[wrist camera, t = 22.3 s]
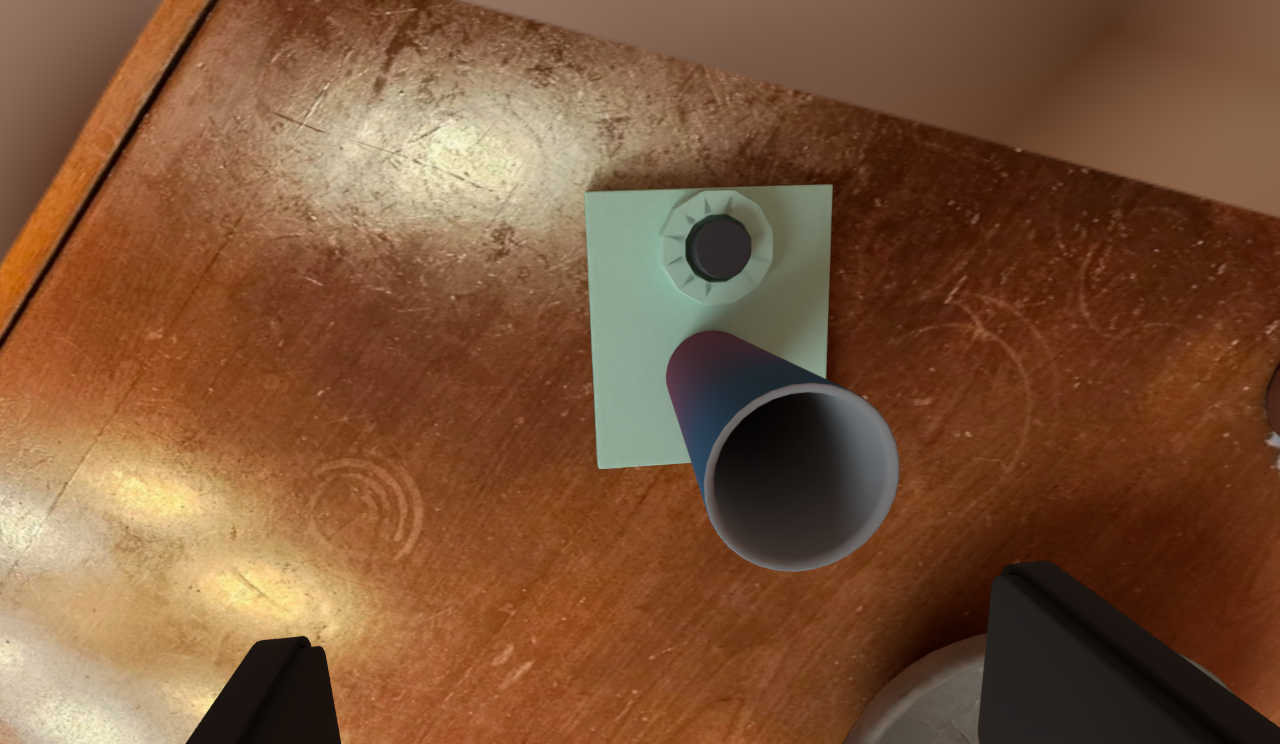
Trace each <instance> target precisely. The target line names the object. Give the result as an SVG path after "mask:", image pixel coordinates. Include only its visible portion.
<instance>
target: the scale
mask: <svg viewBox="0 0 1280 744" xmlns="http://www.w3.org/2000/svg"><path fill="white" fill-rule="evenodd" d="M832 191H833V186H832V184H821V185H786V186H752V187H717V188H682V189H648V190H613V191H586V192H585V193H584V198H585V218H586V239H587V260H588V281H589V302H590V322H591V343H592V364H593V385H594V406H595V426H596V447H597V463H598V468H599V469H605V468H620V467H634V466H649V465H663V464H678V463H691V460H690V457H689V454H688V451H687V447H686V444H685V441H684V438H683V435H682V432H681V429H680V426H679V423H678V420H677V417H676V413H675V410H674V407H673V404H672V401H671V398H670V395H669V392H668V388H667V385H666V371H667V365H668V363H669V360H670V357H671V356H672V354H673V352H674V350H675V349H676V348H677V347H678V346H679V345H680V344H681V343H682V342H683V341H684V340H686V339H687V338H689V337H690V336H692V335H694V334H697V333H700V332H703V331H712V330H714V331H723V332H726V333H729V334H732V335H734V336H736V337H738V338H740V339H742V340H744V341H747V342H749V343H751V344H753V345H755V346H757V347H759V348H761V349H764V350H766V351H768V352H770V353H772V354H774V355H776V356H778V357H780V358H783V359H785V360H787V361H789V362H791V363H793V364H795V365H797V366H800V367H802V368H804V369H806V370H808V371H810V372H812V373H814V374H816V375H819V376H821V377H823V378H825V379H826V365H827V336H828V307H829V278H830V249H831V220H832ZM712 220H728V221H732V222H735V223H737V224H739V225H740V226H741V227H742V228H744V230H745V231H746V232H747V234H748V236H749V238H750V241H751V256H750V259H749V261H748V263H747V265H746V266H745V268H744V269H743V270H742V271H741V272H740V273H738V274H737V275H735V276H733V277H730V278H724V279H722V278H715V277H712V276H710V275H708V274H705V273H703V272H702V271H700V270H699V269H698V268H697V267H696V266H695V264H694V262H693V260H692V258H691V254H690V243H691V239H692V237H693V235H694V233H695V232H696V230H697V229H698V228H699V227H700V226H701V225H703V224H705V223H706V222H709V221H712Z"/></svg>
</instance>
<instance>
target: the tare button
mask: <svg viewBox="0 0 1280 744" xmlns="http://www.w3.org/2000/svg"><path fill="white" fill-rule="evenodd" d="M690 254H691V258H692V260H693V262H694V264H695V266H696V267H697V268H698V269H699V270H700V271H702V272H703V273H705V274H708V275H710V276H712V277H715V278H722V279H724V278H730V277H733V276H735V275H737V274H738V273H740V272H741V271H742V270H743V269H744V268H745V266H746V265H747V263H748V261H749V259H750V256H751V241H750V238H749V236H748V234H747V232H746V231H745V230H744V228H742V227H741V226H740V225H739V224H737V223H735V222H732V221H728V220H712V221H709V222H706V223H705V224H703V225H701V226H700V227H699V228H698V229H697V230H696V232H695V233H694V235H693V237H692V239H691V243H690Z"/></svg>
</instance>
